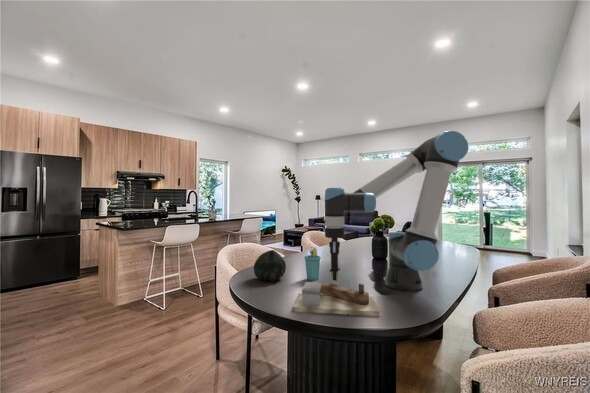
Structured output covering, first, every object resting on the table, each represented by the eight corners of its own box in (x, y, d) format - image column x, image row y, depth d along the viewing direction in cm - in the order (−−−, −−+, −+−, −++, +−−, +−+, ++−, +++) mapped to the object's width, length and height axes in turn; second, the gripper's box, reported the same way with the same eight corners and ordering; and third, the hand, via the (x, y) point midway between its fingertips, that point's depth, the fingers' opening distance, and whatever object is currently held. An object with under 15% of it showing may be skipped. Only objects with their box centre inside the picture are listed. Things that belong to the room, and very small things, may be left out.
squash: (259, 263, 142) (255, 244, 133) (288, 264, 141) (286, 245, 131) (253, 287, 132) (248, 269, 122) (284, 289, 130) (282, 271, 120)
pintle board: (373, 300, 102) (373, 296, 102) (379, 316, 88) (379, 311, 88) (298, 297, 106) (298, 293, 106) (292, 311, 92) (292, 306, 92)
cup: (319, 284, 123) (319, 250, 123) (302, 283, 124) (302, 250, 125) (321, 276, 137) (321, 245, 137) (306, 275, 138) (305, 245, 138)
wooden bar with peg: (371, 301, 96) (371, 284, 96) (364, 305, 92) (364, 287, 92) (317, 287, 113) (317, 272, 113) (309, 290, 109) (309, 275, 109)
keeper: (321, 296, 103) (321, 282, 103) (319, 306, 93) (319, 291, 93) (305, 295, 104) (305, 282, 104) (302, 305, 94) (302, 290, 94)
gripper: (325, 225, 115) (326, 282, 115) (323, 228, 102) (323, 292, 102) (344, 225, 114) (344, 283, 114) (344, 229, 101) (344, 293, 101)
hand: (334, 287), depth 108 cm, fingers closed
